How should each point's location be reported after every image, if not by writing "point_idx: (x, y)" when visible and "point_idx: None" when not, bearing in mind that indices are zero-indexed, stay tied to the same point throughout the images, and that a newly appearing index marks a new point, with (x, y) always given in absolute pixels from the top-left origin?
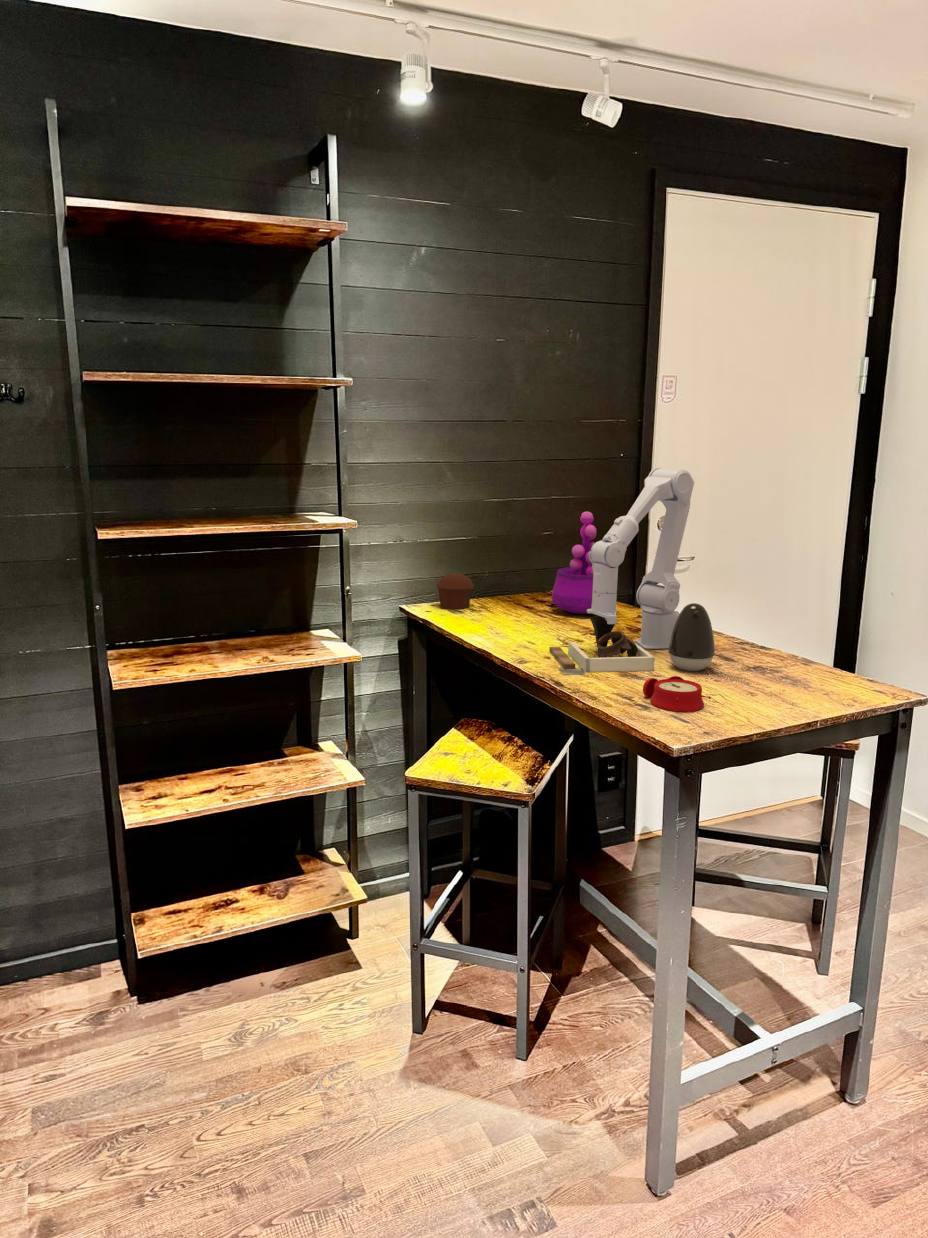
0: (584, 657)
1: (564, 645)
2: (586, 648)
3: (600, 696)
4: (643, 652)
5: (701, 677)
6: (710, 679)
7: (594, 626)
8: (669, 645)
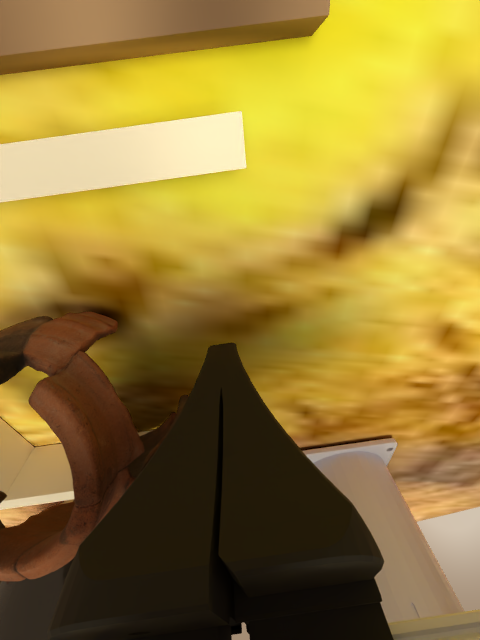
0: None
1: (476, 131)
2: (354, 277)
3: None
4: (70, 490)
5: (18, 515)
6: (9, 523)
7: (224, 462)
8: (52, 574)
